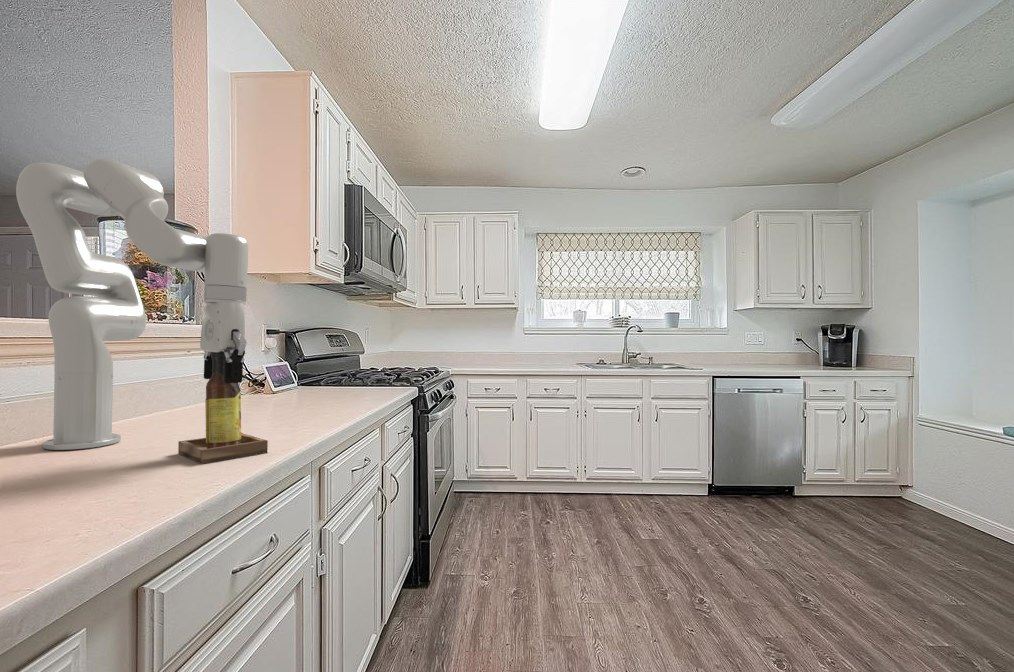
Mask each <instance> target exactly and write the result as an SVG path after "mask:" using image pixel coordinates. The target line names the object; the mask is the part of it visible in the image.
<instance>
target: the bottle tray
mask: <svg viewBox="0 0 1014 672" xmlns="http://www.w3.org/2000/svg"><path fill="white" fill-rule="evenodd" d="M177 449H178V452H177V454H178V455H180V456H183V457H185V458H187V459H189V460H191V461H194V462H196V463H199V464H202V465H205V464H210V463H211V464H212V463H216V462H217V463H218V462H222V461H223V462H224V461H229V460H235V459H241V458H245V457H251V456H257V455H263V454H267V453H268V440H267V439H263V438H260V437H257V436H253V435H250V434H246V433H242V432H241V440H240V444H235V445H229V446H222V447H215V448H209V449H207V443H206V437H199V438H192V439H186V440H178V448H177Z"/></svg>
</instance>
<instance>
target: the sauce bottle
mask: <svg viewBox="0 0 1014 672" xmlns="http://www.w3.org/2000/svg"><path fill="white" fill-rule="evenodd" d="M231 355H232V353H231ZM211 358H212V366H213V369H212V376H211V378H210V379H208V381H207V383H206V386H205V400H204V401H205V406H204V407H205V438H206V443H207V449H209V448H215V447H222V446H229V445H235V444H240V440H241V433H242V391H241V387H240V383H225V382H224V368H225V363H228V362H227V360H226V357H225V353H224V350H223V351H221V352H211Z"/></svg>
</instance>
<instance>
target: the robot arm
mask: <svg viewBox="0 0 1014 672" xmlns="http://www.w3.org/2000/svg"><path fill="white" fill-rule="evenodd" d="M18 175H19V176H18V178H17V181H16V186H15V191H16V192H15V193H16V194H15V195H16V201H17V203H18V207H19V210H20V213H21V214H22V216H23V219H24V220H25V221H26V223H27V225H28V227H29V229H30V232H31V234H32V236H33V238H34V242H35V244H34V245H35V247H36V250H37V253H38V257H39V260H40V263H41V266H42V270H43V273H44V275H45V279H46V281H47V282H48V284H49V286H50V288H52V289H53V290H55V291H57V292H61V293H63V294H64V293H65V294H71V295H73V296H68V297H63V298H60V299H59V300H57V301H56V302H55V303H54V304H53V305H52V306H51V307H50V309H49V312H48V324H49V328H50V329H49V330H50V334H51V338H52V343H53V344H52V345H53V353H54V354H53V355H54V360H53V361H54V365H53V366H54V370H53V371H54V377H53V378H54V383H53V386H54V387H53V435H52V436H53V438H50V439H47V440H45V441H44V442H42V448H43V449H46V450H50V451H67V450H69V451H70V450H72V451H74V450H83V449H92V448H99V447H103V446H108V445H114V444H116V443H119V442H120V441H121V437H122V435H120V434H118V433H113V390H114V389H113V387H114V384H113V383H114V364H113V363H114V360H113V357H112V355H111V352H110V351H109V349H108V347H107V346H106V344H105V342H113V341H114V342H125V341H132V340H135V339H138V338H139V337H140V336H141V335H142V334H144V331H145V329H146V325H147V315H146V311H145V306H144V304H143V301H142V298H141V295H140V292H139V288H138V285H137V281H136V278H135V276H134V274H133V271H132V270H131V268H130V267H129V265H127V263H126V262H124V261H123V260H121V259H120V258H117V257H115V256H110V255H106V254H105V255H104V254H100V253H96V252H94V251H92V248H91V247H90V245H89V242H88V240H87V235H86V233H85V231H84V229H83V228H82V226H81V224H80V223H79V222H78V221H77V219H76V218H75V217H73V216H72V215H71V213H70V212H68V210H67V209H71V210H75V211H79V212H80V211H81V212H83V213H88V214H92V215H95V216H101V217H115V216H116V217H117V216H120V217H121V218H122V219H123V220H124V227H125V232H126V236H127V238H128V239H129V241H130V242H131V243H132V244H133V245H134V246H135V247H136V248H138V250H140V251H141V252H142V254H144V255H145V256H147V257H148V258H149V259H151V260H152V261H154V262H156V263H157V264H160V265H162V266H164V267H169V268H176V269H181V270H186V271H193V272H197V273H204V278H203V279H204V281H203V302H204V307H203V312H202V319H201V331H200V343H199V347H200V349H201V350H202V351H203V352H204V354H203V379H204V380H209V379H210V378H211V376H212V369H213V366H212V358H211V352H221V351H224V353H225V357H226V360H227V362H228V363H225V368H224V382H225V383H238V384H240V383H243V375H244V374H243V371H244V362H245V354H246V347H247V340H246V318H245V314H246V313H245V305H247V295H248V294H247V293H248V291H247V290H248V288H247V287H248V265H249V264H248V261H249V244H248V240H247V239H246V238H244V237H243V236H240V235H236V234H233V233H223V232H222V233H221V232H217V233H216V232H215V233H210V234H208V236H204V235H201V234H197V233H194V232H189V231H186V230H183V229H178V228H175V227H173V226H171V225H170V224H169V223H167V222H166V221H164V220H166V217H168V214H169V213H168V212H169V205H168V202H167V200H166V199H165V198H164V196H165V192H164V187H163V185H162V183H161V181H160V180H159V179H158V178H157V177H156V176H155V175H153V174H152V173H150V172H147V171H145V170H142V169H140V168H137V167H134V166H131V165H129V164H127V163H125V162H124V163H123V162H121V161H118V160H114V159H111V158H98V159H95V160H92V161H90V162H89V163H88V164H87V165H85V168H84V170H83V171H81V170H77V169H74V168H72V167H70V166H66V165H61V164H59V163H53V162H43V161H42V162H32V163H30V164H29V165H27V166H25V167H24V168H23V169H22V170H21V172H20V173H19V174H18ZM66 208H67V209H66ZM74 295H76V296H74ZM231 353H232V355H231Z"/></svg>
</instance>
